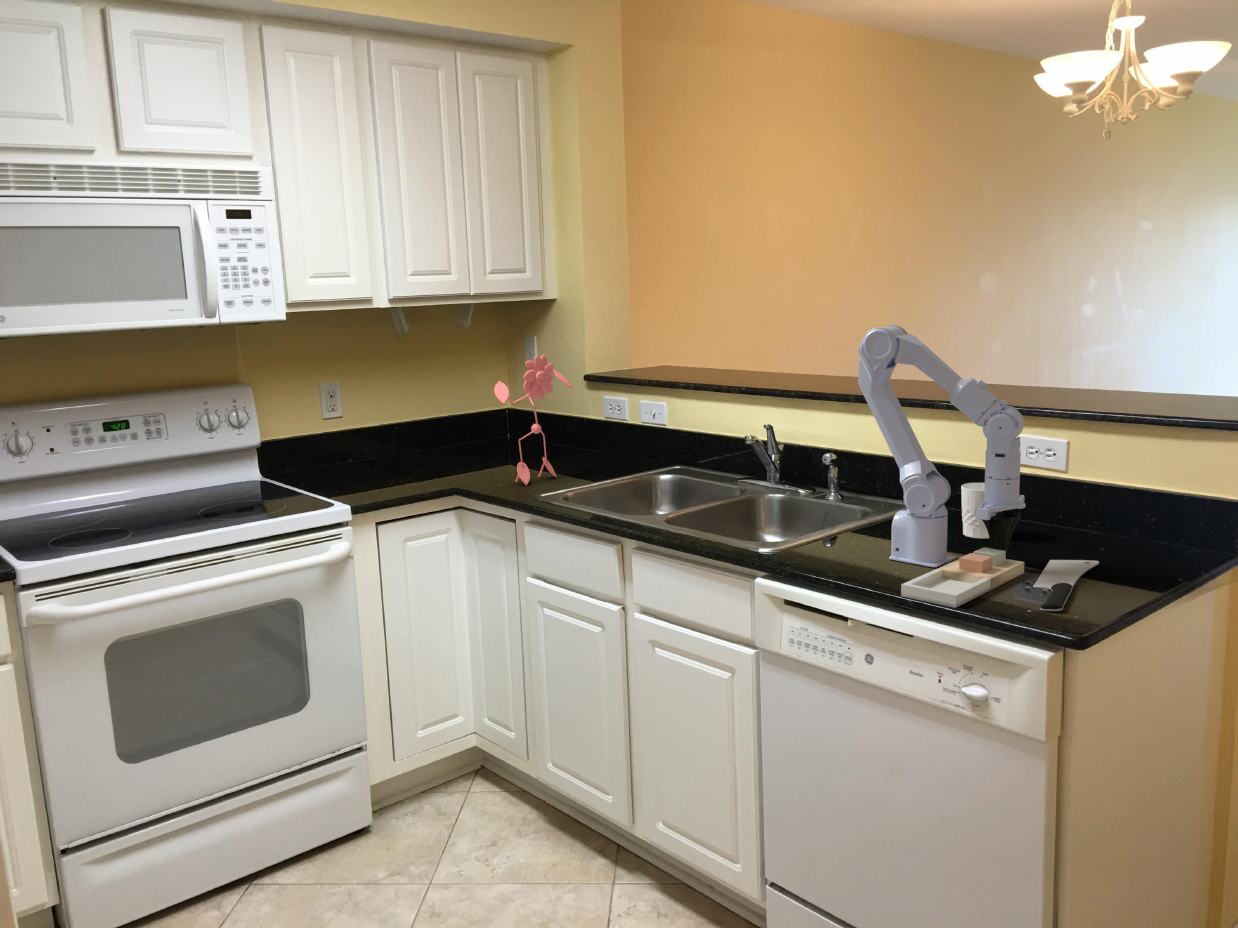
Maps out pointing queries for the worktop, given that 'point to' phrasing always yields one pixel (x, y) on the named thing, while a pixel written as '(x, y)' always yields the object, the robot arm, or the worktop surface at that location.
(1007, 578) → the wooden board
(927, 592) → the grey tray
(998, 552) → the sage tile
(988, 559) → the terracotta tile
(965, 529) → the white cup
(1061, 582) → the kitchen cleaver
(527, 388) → the figurine
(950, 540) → the worktop surface
